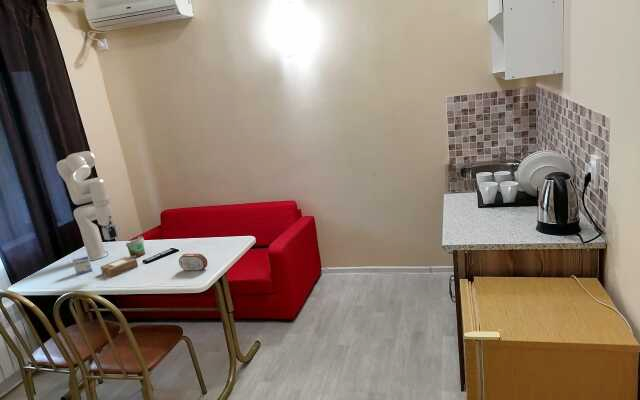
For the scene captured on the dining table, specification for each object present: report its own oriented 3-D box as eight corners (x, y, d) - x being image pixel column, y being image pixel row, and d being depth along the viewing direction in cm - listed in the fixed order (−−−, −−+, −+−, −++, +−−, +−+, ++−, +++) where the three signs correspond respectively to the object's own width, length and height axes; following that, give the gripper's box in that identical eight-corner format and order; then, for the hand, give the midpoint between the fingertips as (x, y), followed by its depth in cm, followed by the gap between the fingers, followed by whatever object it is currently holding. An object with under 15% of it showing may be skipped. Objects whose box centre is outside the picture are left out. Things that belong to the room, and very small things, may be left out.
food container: (139, 259, 258) (135, 242, 256) (130, 259, 260) (125, 243, 257) (151, 251, 270) (147, 235, 268) (142, 251, 271) (138, 235, 269)
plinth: (102, 273, 243) (100, 266, 242) (127, 263, 254) (125, 256, 253) (113, 277, 236) (110, 269, 235) (138, 266, 246) (136, 259, 245)
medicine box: (76, 275, 248) (72, 260, 245) (76, 273, 251) (72, 258, 249) (92, 271, 251) (88, 256, 249) (92, 268, 255) (88, 254, 253)
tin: (209, 268, 226) (205, 252, 224) (205, 271, 223) (202, 255, 221) (183, 269, 231) (180, 253, 229) (180, 271, 228) (176, 255, 226)
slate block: (104, 239, 240) (101, 228, 239) (113, 236, 244) (110, 225, 242) (109, 240, 237) (105, 229, 235) (118, 236, 240) (115, 225, 239)
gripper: (87, 204, 239) (96, 237, 243) (102, 206, 228) (111, 240, 232) (101, 200, 244) (110, 233, 248) (116, 202, 233) (125, 235, 237)
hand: (111, 236), depth 240 cm, fingers closed on slate block, 5 cm apart
